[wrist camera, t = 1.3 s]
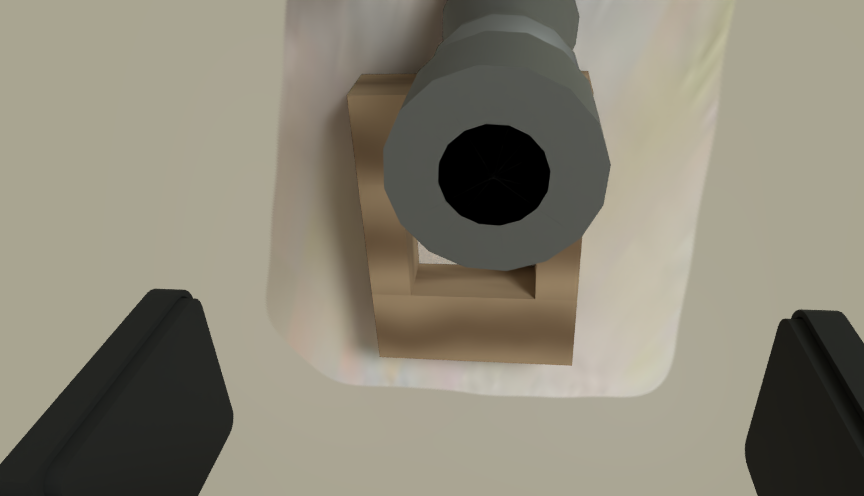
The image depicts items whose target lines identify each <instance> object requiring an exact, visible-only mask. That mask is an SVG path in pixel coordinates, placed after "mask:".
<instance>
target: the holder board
mask: <svg viewBox="0 0 864 496" xmlns="http://www.w3.org/2000/svg"><path fill="white" fill-rule="evenodd" d="M581 72H582V73H583V74H584V76H585V77H586V78H587V79H588V80H589V82H590V86H591V90H592V93H593V89H592V85H591V81H590V77H589V73H588V71H581ZM416 75H417V74H365V75H361V76H360V78H359V79H358V80H357V82H356V83H355V85H354V86H353V87H352V89H351V90H350V92H349V93H348V95H347V101H348V109H349V117H350V125H351V133H352V141H353V149H354V157H355V164H356V172H357V180H358V188H359V196H360V204H361V212H362V220H363V228H364V235H365V243H366V251H367V259H368V267H369V275H370V283H371V291H372V298H373V306H374V314H375V322H376V330H377V338H378V346H379V354H380V357H393V358H415V359H438V360H460V361H482V362H504V363H526V364H549V365H571V366H572V358H573V345H574V333H575V320H576V307H577V295H578V282H579V269H580V257H581V244H582V237H581V238H580V239H579V240H578V241H576V242H575V243H573V244H572V245H570V246H569V247H567V248H566V249H564V250H563V251H561V252H560V253H558V254H556V255H555V256H553V257H552V258H550V259H549V260H547V261H545V262H541V263H537V264H535V267H533V266H525V267H521V268H517V269H513V270H509V271H501V270H489V269H478V268H467V267H464V266H462V265H453V264H419V255H418V242H417V239H416V238H415V237H414V236H413V235H412V234H410V233H409V232H408V231H407V230H406V229H405V228H404V227H403V226H402V225H401V224H400V222H399V220H398V218H397V215H396V213H395V211H394V209H393V207H392V205H391V202H390V200H389V198H388V196H387V194H386V192H385V189H384V165H383V148H384V146H385V143H386V141H387V139H388V136H389V134H390V132H391V129H392V127H393V125H394V122H395V120H396V118H397V116H398V113H399V111H400V109H401V107H402V105H403V102H404V100H405V98H406V96H407V94H408V92H409V90H410V88H411V86H412V84H413V82H414V79H415V77H416Z"/></svg>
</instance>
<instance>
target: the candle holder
mask: <svg viewBox="0 0 864 496" xmlns="http://www.w3.org/2000/svg"><path fill="white" fill-rule="evenodd" d="M578 23H579V13H578V9H577V6H576V2H575V0H447V2H446V5H445V7H444V9H443V36H442V37H443V40H444V41H443V42H442V43H441V44H440V45H439V46H438V48H437V50H436V53H435V55H434V57H433V58H432V59H431V60H430V61H429V62H428V63H427V64H426V65H424V66H423V67H422V68H421V69H420V70H419V71H418V73H417V75H416V77H415V79H414V82H413V84H412V86H411V88H410V90H409V92H408V94H407V96H406V98H405V100H404V102H403V105H402V107H401V109H400V111H399V113H398V116H397V118H396V120H395V122H394V125H393V127H392V129H391V132H390V134H389V136H388V139H387V141H386V143H385V146H384V148H383V165H384V189H385V192H386V194H387V196H388V198H389V200H390V202H391V205H392V207H393V209H394V211H395V213H396V215H397V218H398V220H399V222H400V224H401V225H402V226H403V227H404V228H405V229H406V230H407V231H408V232H409V233H410V234H412V235H413V236H414V237H415V238H416V239H417V240H418V241H419V242H420V243H421V244H422V245H423V246H424V247H425V248H426V249H427V250H428V251H430V252H432V253H434V254H437V255H439V256H441V257H443V258H446V259H448V260H450V261H452V262H455V263H457V264H459V265H462V266H464V267H467V268H478V269H489V270H501V271H509V270H513V269H517V268H521V267H525V266H529V265H533V264H537V263H541V262H545V261H547V260H549V259H550V258H552V257H553V256H555V255H556V254H558V253H560V252H561V251H563V250H564V249H566V248H567V247H569V246H570V245H572V244H573V243H575V242H576V241H578V240H579V239H580V238H581V237H582V235H583V234H584V233H585V231H586V230H587V228H588V227H589V225H590V224H591V222H592V221H593V219H594V218H595V217H596V215H597V214H598V212H599V211H600V209H601V208H602V206H603V204H604V198H605V193H606V188H607V182H608V177H609V171H610V166H611V164H610V160H609V156H608V152H607V148H606V144H605V140H604V136H603V132H602V128H601V124H600V120H599V116H598V112H597V108H596V105H595V101H594V97H593V93H592V90H591V86H590V82H589V80H588V79H587V78H586V77H585V76H584V74H583V73H582V72H581V71H580V70H579V67H578V64H577V60H576V56H575V53H574V52H573V48H574V46H575V44H576V38H577V30H578Z"/></svg>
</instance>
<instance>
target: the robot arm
mask: <svg viewBox="0 0 864 496" xmlns="http://www.w3.org/2000/svg"><path fill="white" fill-rule="evenodd" d="M232 425H233V410H232V406H231V403H230V400H229V396H228V393H227V390H226V386H225V382H224V379H223V376H222V372H221V369H220V365H219V362H218V359H217V355H216V352H215V348H214V345H213V342H212V339H211V335H210V331H209V328H208V325H207V322H206V318H205V314H204V311H203V307H202V305H201V302H200V301H199V300H198V299H193V297H192V295H191V294H190V293H189V292H188V291H186V290H174V289H153V290H150V291H149V292H148V293H147V294H146V295H145V296H144V297H143V298H142V300H141V301H140V302H139V303H138V304H137V305H136V307H135V308H134V309H133V310H132V311H131V313H130V314H129V315H128V316H127V317H126V318H125V320H124V321H123V322H122V323H121V324H120V325H119V326H118V328H117V329H116V330H115V331H114V332H113V333H112V335H111V336H110V337H109V338H108V339H107V340H106V342H105V343H104V344H103V345H102V346H101V348H100V349H99V350H98V351H97V352H96V353H95V355H94V356H93V357H92V358H91V359H90V360H89V362H88V363H87V364H86V365H85V366H84V367H83V369H82V370H81V371H80V372H79V373H78V374H77V375H76V377H75V378H74V379H73V380H72V381H71V382H70V384H69V385H68V386H67V387H66V388H65V389H64V391H63V392H62V393H61V394H60V395H59V396H58V398H57V399H56V400H55V401H54V402H53V403H52V405H51V406H50V407H49V408H48V409H47V410H46V412H45V413H44V414H43V415H42V416H41V417H40V419H39V420H38V421H37V422H36V423H35V424H34V425H33V427H32V428H31V429H30V430H29V431H28V433H27V434H26V435H25V436H24V437H23V438H22V440H21V441H20V442H19V443H18V444H17V445H16V446H15V448H14V449H13V450H12V451H11V452H10V454H9V455H8V456H7V457H6V458H5V459H4V460H3V462H2V463H1V464H0V496H198V495H199V493H200V491H201V489H202V487H203V485H204V483H205V481H206V479H207V477H208V475H209V473H210V471H211V469H212V467H213V465H214V463H215V461H216V460H217V458H218V456H219V454H220V452H221V450H222V448H223V446H224V444H225V442H226V440H227V438H228V436H229V434H230V431H231V429H232ZM745 457H746V463H747V466H748V469H749V472H750V475H751V478H752V481H753V484H754V486H755V489H756V492H757V495H758V496H864V343H863V342H862V340H861V339H860V337H859V336H858V334H857V333H856V331H855V330H854V328H853V327H852V325H851V324H850V322H849V321H848V320H847V318H846V316H845V315H844V314H843V313H842V312H839V311H826V310H797V311H795V312H794V314H793V315H792V318H791V319H782V320H781V322H780V323H779V326H778V329H777V332H776V336H775V340H774V343H773V347H772V350H771V354H770V357H769V361H768V364H767V368H766V371H765V375H764V378H763V382H762V386H761V389H760V392H759V396H758V400H757V403H756V407H755V410H754V414H753V418H752V421H751V424H750V428H749V431H748V435H747V439H746V443H745Z"/></svg>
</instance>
